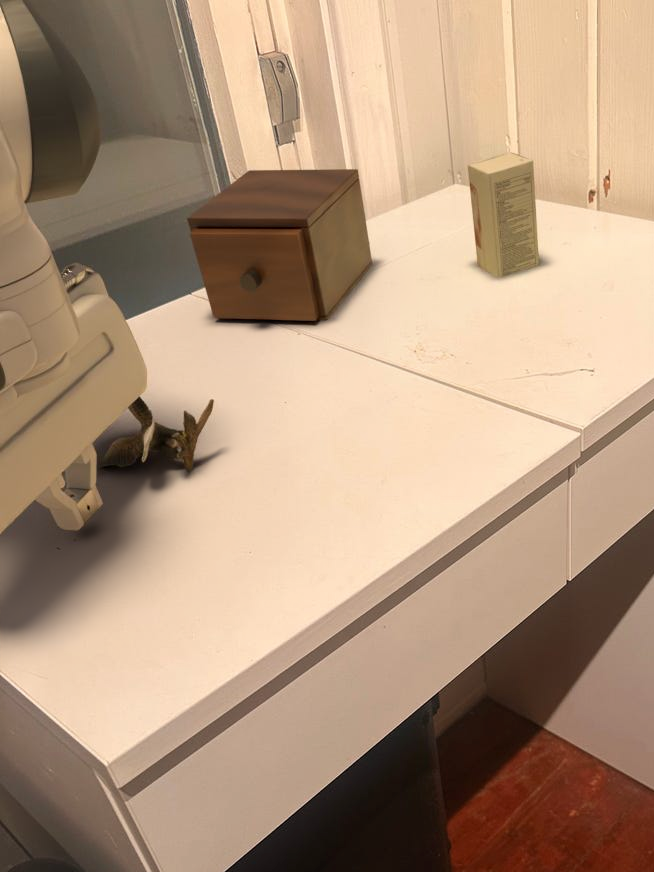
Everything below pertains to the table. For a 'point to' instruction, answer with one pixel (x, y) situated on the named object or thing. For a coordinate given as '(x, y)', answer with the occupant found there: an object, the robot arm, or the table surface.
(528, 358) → the table surface
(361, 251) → the cabinet
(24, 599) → the table surface
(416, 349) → the table surface
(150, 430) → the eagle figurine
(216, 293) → the drawer
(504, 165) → the tall printed carton
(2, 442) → the robot arm
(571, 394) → the table surface
